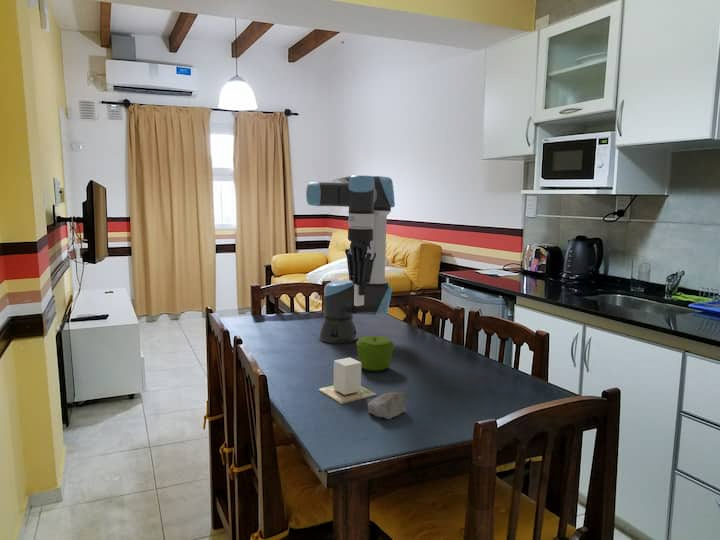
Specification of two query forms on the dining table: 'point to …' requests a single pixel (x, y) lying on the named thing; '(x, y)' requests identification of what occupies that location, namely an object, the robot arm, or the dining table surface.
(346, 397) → the square base with post
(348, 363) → the cream cuboid
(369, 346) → the green apple
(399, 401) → the stone
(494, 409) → the dining table surface
